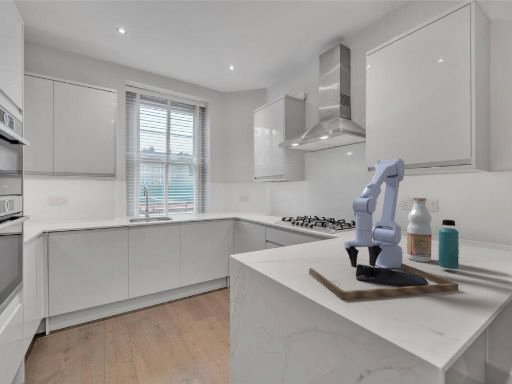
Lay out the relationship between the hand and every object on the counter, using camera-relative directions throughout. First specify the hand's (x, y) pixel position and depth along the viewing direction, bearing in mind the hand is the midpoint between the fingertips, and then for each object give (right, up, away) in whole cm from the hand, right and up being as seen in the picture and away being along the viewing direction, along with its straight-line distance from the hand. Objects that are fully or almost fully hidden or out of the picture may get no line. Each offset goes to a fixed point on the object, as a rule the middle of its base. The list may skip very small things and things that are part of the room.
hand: (363, 266), depth 95 cm
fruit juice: (+34, -3, +21) cm, 41 cm away
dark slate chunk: (+7, -4, -6) cm, 10 cm away
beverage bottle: (+36, -3, +5) cm, 36 cm away
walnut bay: (+2, -3, -8) cm, 8 cm away
